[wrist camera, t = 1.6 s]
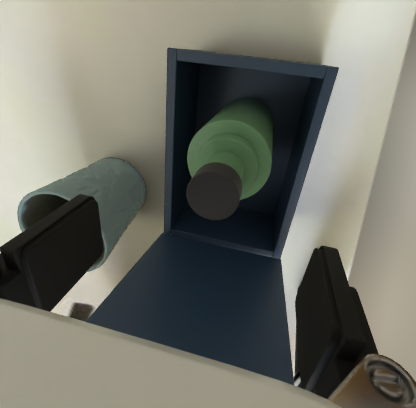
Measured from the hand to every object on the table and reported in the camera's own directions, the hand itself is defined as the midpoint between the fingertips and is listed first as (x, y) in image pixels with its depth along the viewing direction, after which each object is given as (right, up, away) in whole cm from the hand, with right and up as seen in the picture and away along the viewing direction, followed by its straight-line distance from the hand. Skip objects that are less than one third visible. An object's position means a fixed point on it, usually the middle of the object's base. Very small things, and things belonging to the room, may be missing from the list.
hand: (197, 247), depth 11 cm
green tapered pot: (-12, +4, +27) cm, 29 cm away
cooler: (+4, +9, +20) cm, 22 cm away
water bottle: (+4, +10, +18) cm, 21 cm away
